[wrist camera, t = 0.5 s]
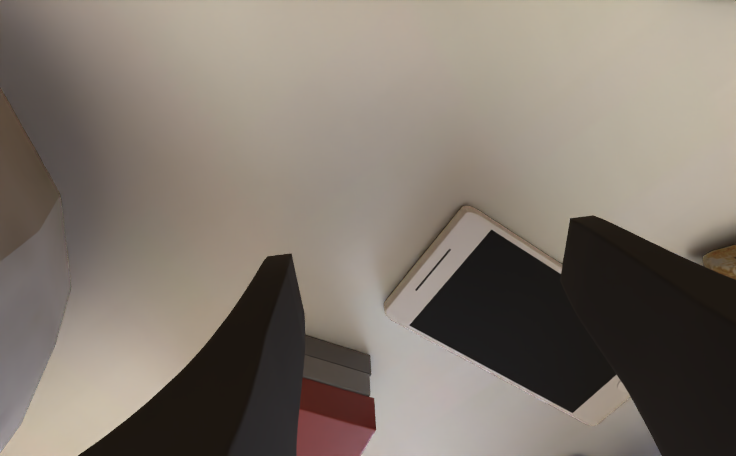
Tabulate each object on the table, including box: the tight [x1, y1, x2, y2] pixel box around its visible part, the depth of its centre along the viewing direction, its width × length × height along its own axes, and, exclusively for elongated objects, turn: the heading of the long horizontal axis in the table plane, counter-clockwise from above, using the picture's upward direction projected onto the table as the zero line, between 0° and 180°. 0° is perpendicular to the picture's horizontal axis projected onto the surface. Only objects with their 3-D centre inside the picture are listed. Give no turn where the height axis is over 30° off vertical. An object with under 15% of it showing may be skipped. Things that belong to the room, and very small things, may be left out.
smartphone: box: [384, 206, 631, 426], centre depth 25 cm, size 7×15×1 cm, turn 56°
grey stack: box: [303, 335, 371, 397], centre depth 27 cm, size 9×5×3 cm, turn 157°
